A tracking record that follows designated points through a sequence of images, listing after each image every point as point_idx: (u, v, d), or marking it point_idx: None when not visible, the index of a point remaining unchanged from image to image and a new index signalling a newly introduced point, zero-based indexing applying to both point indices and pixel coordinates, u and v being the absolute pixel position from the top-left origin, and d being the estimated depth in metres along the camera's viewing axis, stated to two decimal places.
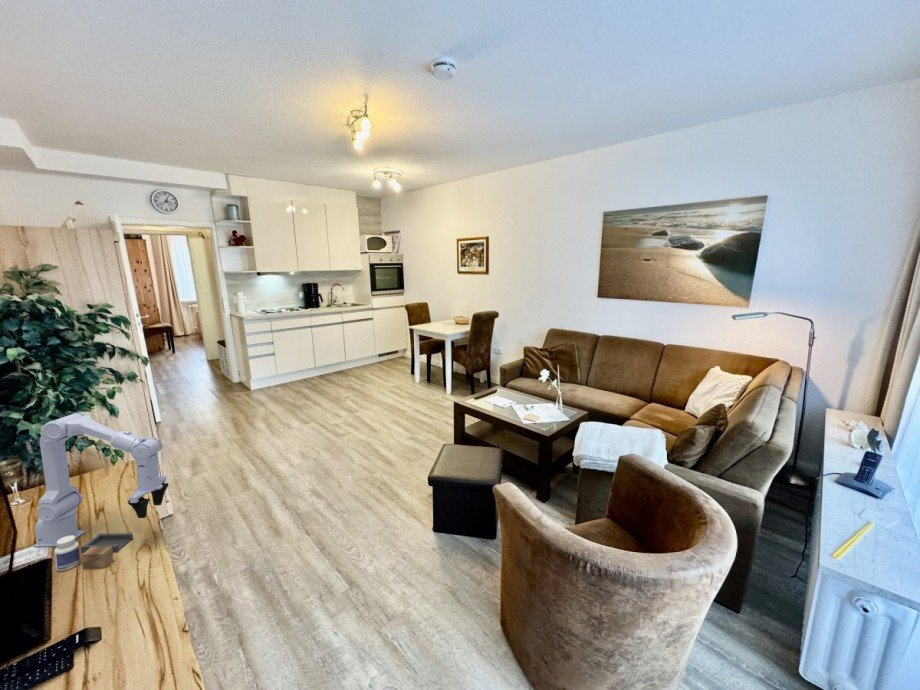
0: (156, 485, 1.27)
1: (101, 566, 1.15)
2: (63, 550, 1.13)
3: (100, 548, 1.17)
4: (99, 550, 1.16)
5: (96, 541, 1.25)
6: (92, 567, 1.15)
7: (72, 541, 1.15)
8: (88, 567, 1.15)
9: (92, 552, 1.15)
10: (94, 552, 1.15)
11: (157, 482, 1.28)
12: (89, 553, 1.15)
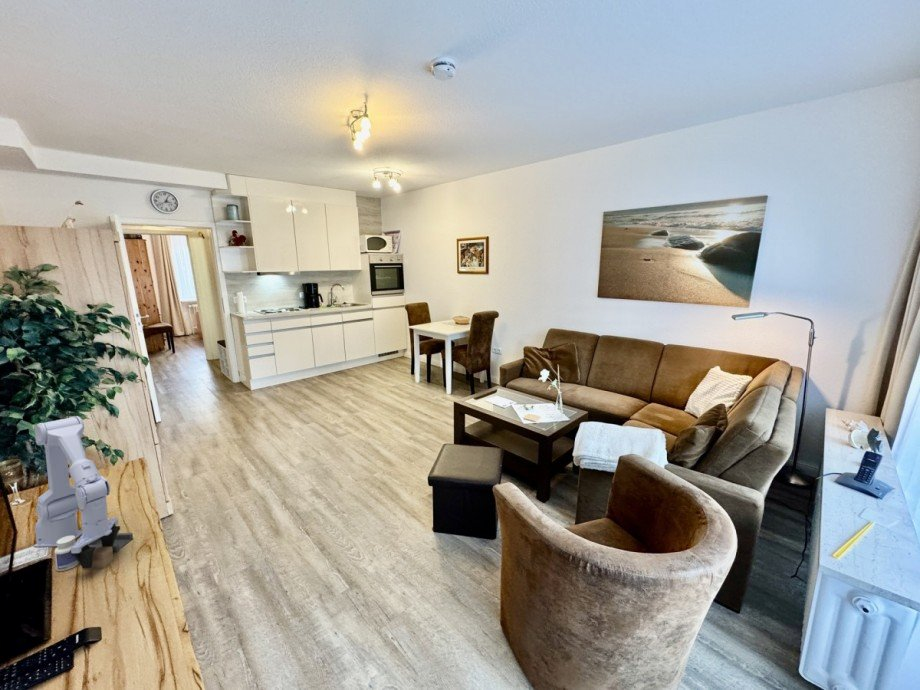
0: (104, 531, 1.15)
1: (101, 566, 1.15)
2: (63, 550, 1.13)
3: (100, 548, 1.17)
4: (99, 550, 1.16)
5: (96, 541, 1.25)
6: (92, 567, 1.15)
7: (72, 541, 1.15)
8: None
9: None
10: (94, 552, 1.15)
11: (105, 527, 1.15)
12: None
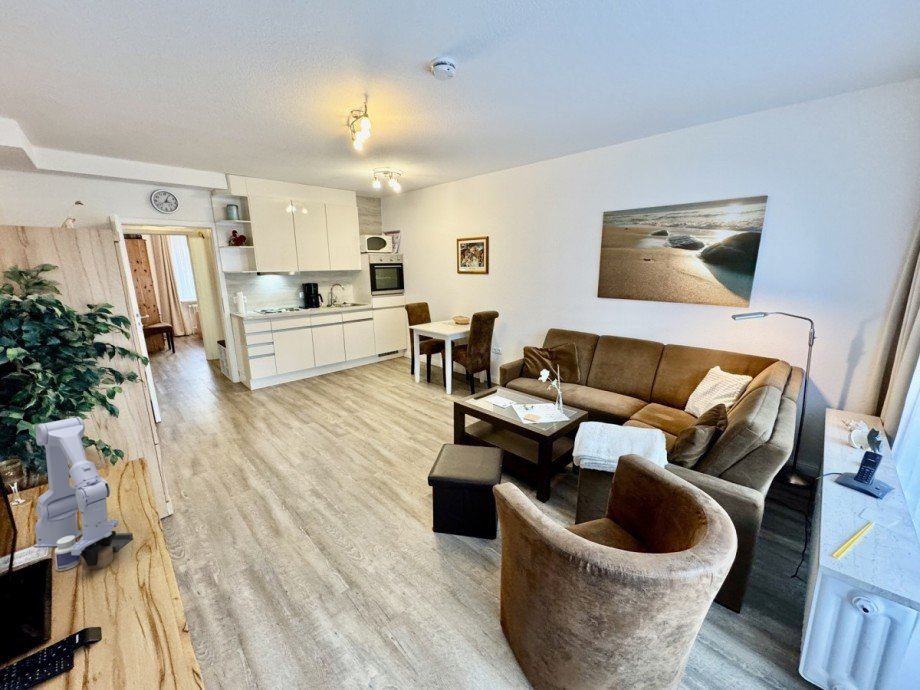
0: (104, 532, 1.15)
1: (101, 566, 1.15)
2: (63, 550, 1.13)
3: (100, 548, 1.17)
4: (99, 549, 1.16)
5: None
6: (92, 567, 1.15)
7: (72, 541, 1.15)
8: (88, 567, 1.15)
9: None
10: None
11: (105, 529, 1.15)
12: None
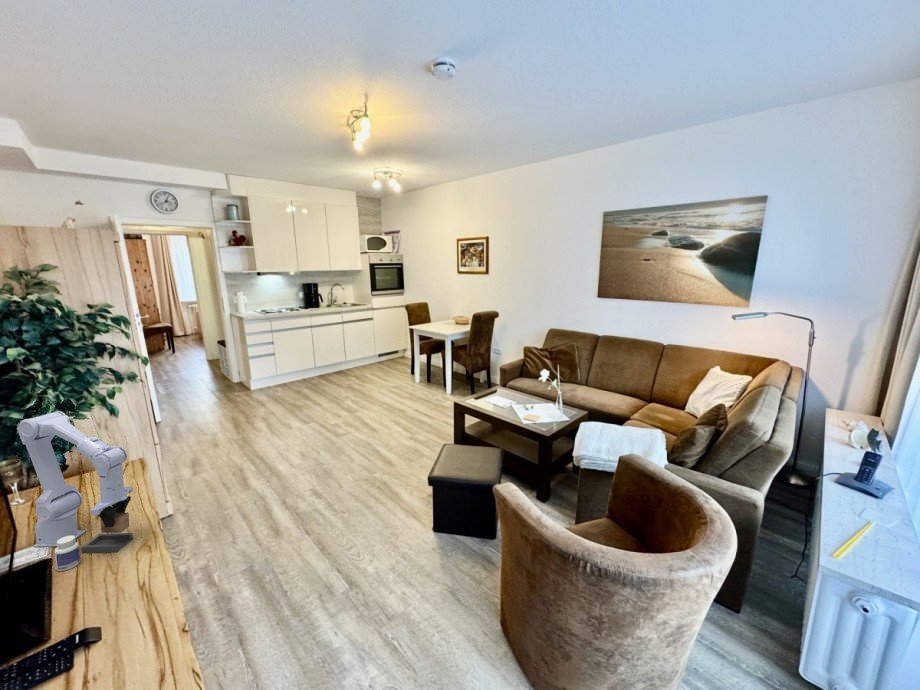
0: (120, 496, 1.23)
1: (118, 530, 1.23)
2: (63, 550, 1.13)
3: (117, 514, 1.25)
4: (117, 515, 1.24)
5: (96, 541, 1.25)
6: (110, 531, 1.23)
7: (72, 541, 1.15)
8: (106, 531, 1.23)
9: None
10: None
11: (121, 493, 1.23)
12: None
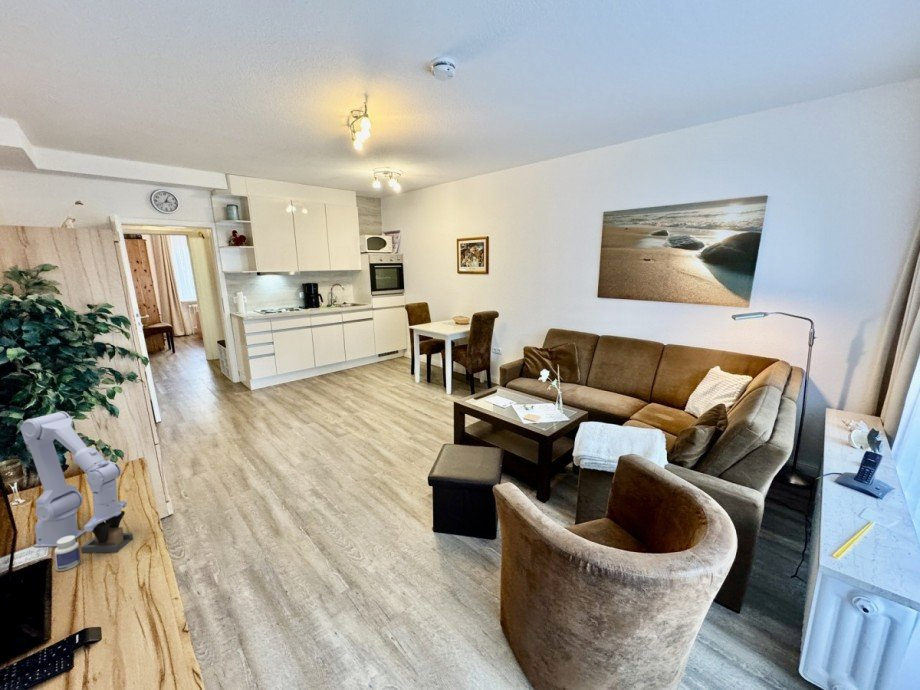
0: (114, 512, 1.23)
1: None
2: (63, 550, 1.13)
3: (111, 529, 1.25)
4: (111, 530, 1.25)
5: None
6: None
7: (72, 541, 1.15)
8: None
9: None
10: None
11: (115, 508, 1.24)
12: None
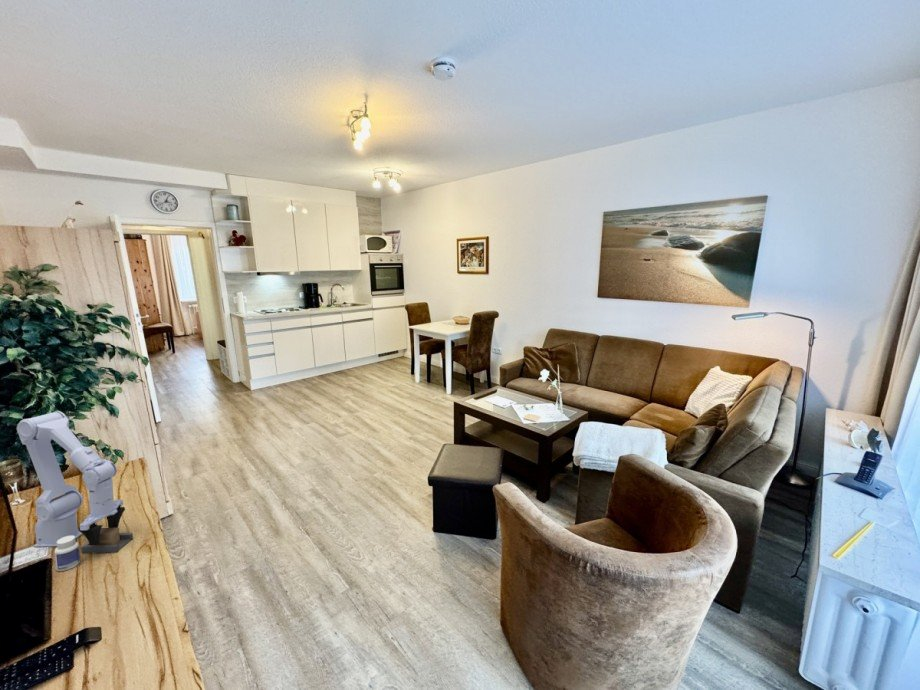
0: (110, 510, 1.23)
1: None
2: (63, 550, 1.13)
3: (108, 529, 1.25)
4: (107, 530, 1.24)
5: None
6: None
7: (72, 541, 1.15)
8: None
9: (100, 532, 1.23)
10: (102, 532, 1.23)
11: (111, 507, 1.23)
12: None
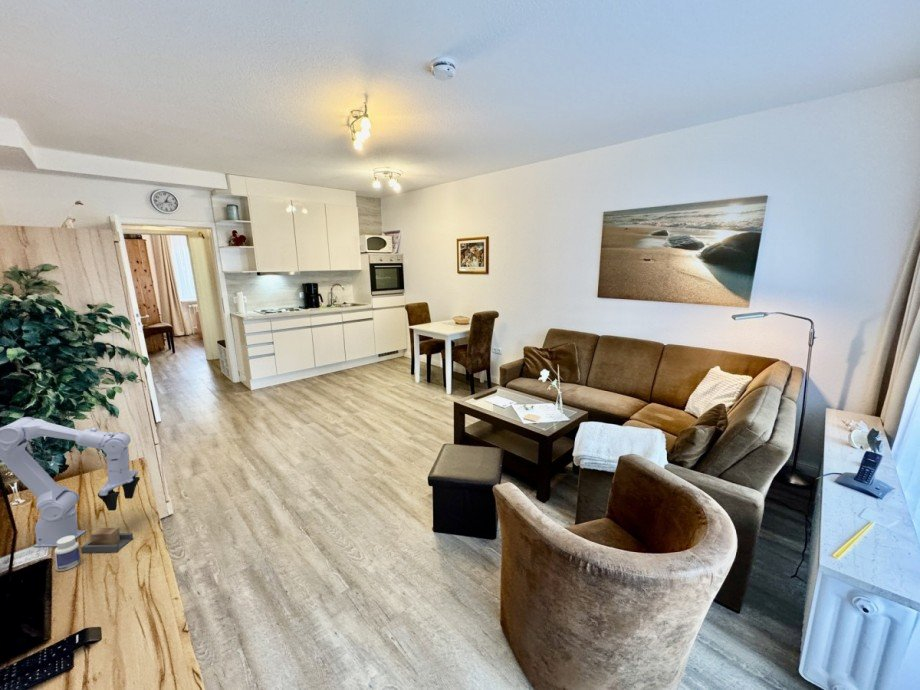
0: (126, 478, 1.31)
1: None
2: (63, 550, 1.13)
3: (108, 529, 1.25)
4: (107, 530, 1.24)
5: None
6: None
7: (72, 541, 1.15)
8: None
9: (100, 532, 1.23)
10: (102, 532, 1.23)
11: (127, 476, 1.31)
12: (97, 533, 1.23)
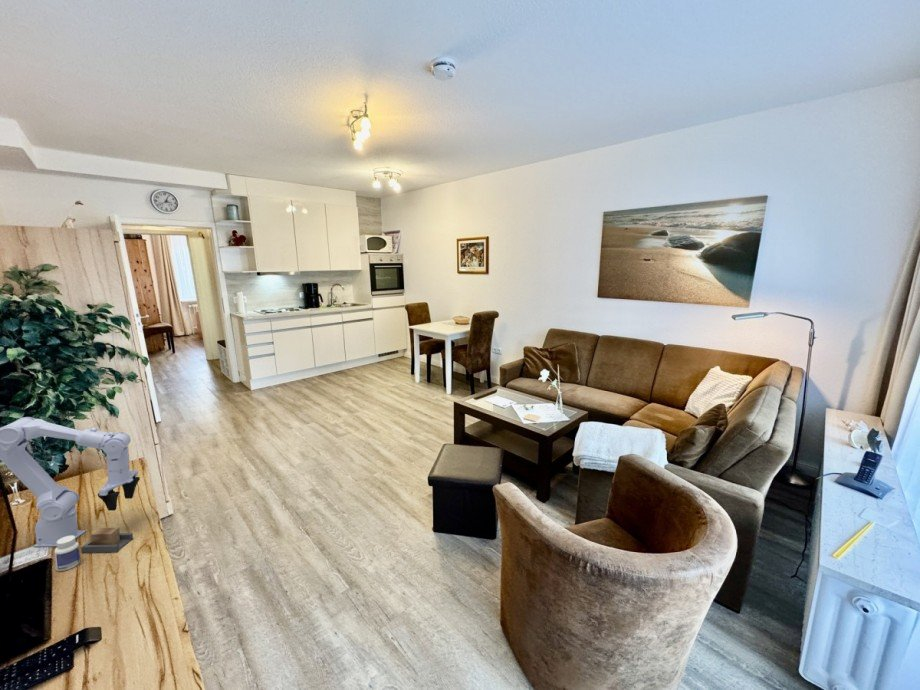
0: (126, 478, 1.31)
1: None
2: (63, 550, 1.13)
3: (108, 529, 1.25)
4: (107, 530, 1.24)
5: None
6: None
7: (72, 541, 1.15)
8: None
9: (100, 532, 1.23)
10: (102, 532, 1.23)
11: (127, 476, 1.31)
12: (97, 533, 1.23)
